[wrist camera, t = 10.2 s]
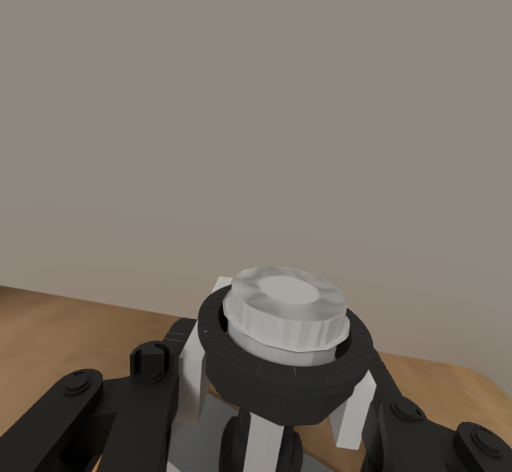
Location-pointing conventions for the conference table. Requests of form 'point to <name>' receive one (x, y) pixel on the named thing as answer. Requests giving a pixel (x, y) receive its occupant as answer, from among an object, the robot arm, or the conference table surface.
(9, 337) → the conference table surface
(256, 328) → the push button
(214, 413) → the mounting panel
